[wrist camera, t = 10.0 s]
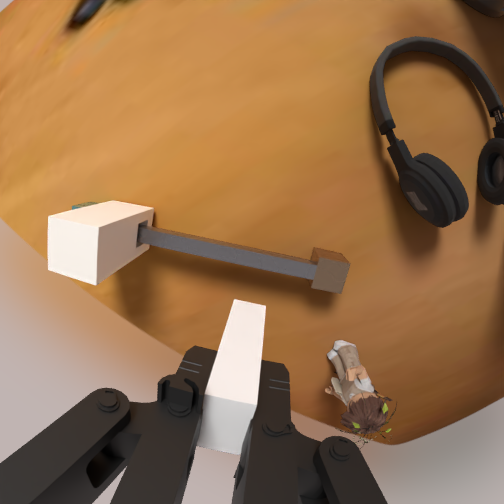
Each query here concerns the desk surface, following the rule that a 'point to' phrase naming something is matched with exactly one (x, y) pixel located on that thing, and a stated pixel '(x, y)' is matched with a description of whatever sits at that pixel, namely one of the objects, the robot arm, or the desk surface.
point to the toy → (356, 392)
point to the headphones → (428, 166)
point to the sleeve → (96, 239)
